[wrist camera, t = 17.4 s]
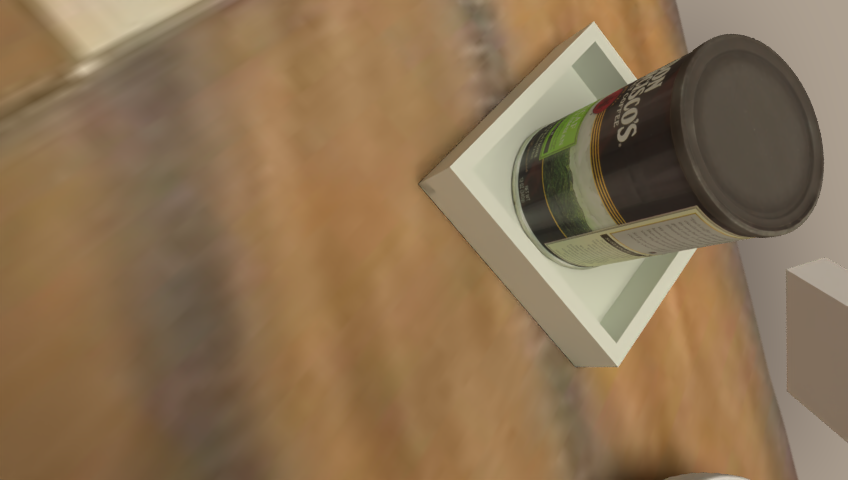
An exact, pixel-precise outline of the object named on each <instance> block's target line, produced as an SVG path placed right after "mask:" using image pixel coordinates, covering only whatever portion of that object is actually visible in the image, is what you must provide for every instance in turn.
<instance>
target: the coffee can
mask: <svg viewBox="0 0 848 480" xmlns="http://www.w3.org/2000/svg"><path fill="white" fill-rule="evenodd" d="M823 172H824V157H823V145H822V138H821V133H820V129H819V125H818V121H817V118H816V115H815V112H814V109H813V106H812V104H811V102H810V99H809V97H808V95H807V93H806V91H805V89H804V88H803V86H802V84H801V82H800V81H799V79H798V77H797V76H796V75H795V73H794V72H793V71H792V70H791V68H790V67H789V66H788V65H787V63H786V62H785V61H784V60H783V59H782V58H781V57H780V56H779V55H778V54H777V53H776V52H774V51H773V50H772V49H771V48H770V47H768V46H766V45H765V44H763V43H762V42H760V41H758V40H755V39H754V38H750V37H747V36H744V35H738V34H725V35H720V36H717V37H714V38H712V39H710V40H708V41H706V42H705V43H703V44H702V45H700V46H698V47H697V48H696V49H694V50H693V51H692V52H691V53H689V54H687V55H685V56H683V57H681V58H679V59H677V60H675V61H673V62H671V63H669V64H667V65H665V66H663V67H662V68H660V69H658V70H655V71H654V72H651V73H649V74H648V75H646V76H644V77H642V78H640V79H638V80H636V81H634V82H632V83H630V84H628V85H626V86H624V87H622V88H620V89H619V90H617V91H615V92H613V93H611V94H609V95H607V96H605V97H603V98H601V99H599V100H597V101H595V102H593V103H591V104H589V105H587V106H585V107H583V108H581V109H579V110H577V111H575V112H573V113H571V114H569V115H567V116H565V117H563V118H561V119H559V120H557V121H555V122H553V123H550V124H547V125H545V126H543V127H541V128H539V129H538V130H536V131H535V132H534V133H532V134H531V135H530V136H529V137H528V138H527V139H526V140H525V142H524V143H523V145H522V147H521V148H520V150H519V152H518V155H517V157H516V160H515V163H514V168H513V174H512V196H513V202H514V205H515V210H516V213H517V216H518V219H519V221H520V224H521V226H522V228H523V230H524V231H525V233H526V235H527V236H528V238H529V239H530V241H531V242H532V243H533V244H534V245H535V247H536V248H537V249H538V250H539V251H540V252H541V253H542V254H544V255H545V256H546V257H548V258H549V259H550V260H552V261H554V262H555V263H557V264H559V265H562V266H564V267H568V268H572V269H579V270H587V269H592V268H596V267H599V266H602V265H607V264H612V263H618V262H623V261H629V260H634V259H639V258H645V257H650V256H656V255H662V254H667V253H673V252H678V251H683V250H689V249H694V248H700V247H706V246H711V245H717V244H722V243H728V242H733V241H739V240H744V239H750V238H755V237H757V238H766V237H775V236H781V235H784V234H787V233H790V232H792V231H794V230H795V229H797V228H798V227H799V226H801V225H802V224H803V223H804V222H805V220H807V218H808V217H809V215H810V214H811V213H812V211H813V209H814V207H815V206H816V203H817V200H818V198H819V195H820V191H821V187H822V181H823Z"/></svg>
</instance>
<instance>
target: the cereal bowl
mask: <svg viewBox="0 0 848 480" xmlns="http://www.w3.org/2000/svg"><path fill="white" fill-rule="evenodd" d="M664 480H749V479H746V478H743V477H740V476H734V475H729V474H719V473H704V472H703V473H689V474H681V475H678V476H673V477H669V478H666V479H664Z"/></svg>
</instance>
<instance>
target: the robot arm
mask: <svg viewBox="0 0 848 480" xmlns="http://www.w3.org/2000/svg"><path fill="white" fill-rule="evenodd" d="M786 303H787V304H786V305H787V306H786V309H787V310H786V311H787V392H789V393H790V394H791V395H792V396H793V397H794V398H795V399H797V400H798V401H799V402H800V403H801V404H803V405H804V406H805V407H806V408H807V409H809V410H810V411H811V412H812V413H813V414H814V415H816V416H817V417H818V418H819V419H820V420H821V421H823V422H824V423H825V424H826V425H827V426H829V427H830V428H831V429H832V430H833V431H834V432H836V433H837V434H838V435H839V436H840V437H842V438H843V439H844V440H845V441H847V442H848V269H846V268H844V267H842V266H840V265H838V264H836V263H834V262H833V261H831V260H829V259H827V258H825V257H824V258H821V259H818V260H815V261H812V262H808V263H805V264H802V265H799V266H796V267H792V268H789V269H786Z"/></svg>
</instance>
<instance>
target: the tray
mask: <svg viewBox="0 0 848 480" xmlns="http://www.w3.org/2000/svg"><path fill="white" fill-rule="evenodd" d="M636 80H637V79H636V77H635V76H634V75H633V73H632V72H631V71H630V69H629V68H628V67H627V65H626V64H625V63H624V61H623V60H622V59H621V57H620V56H619V55H618V53H617V52H616V51H615V49H614V48H613V47H612V45H611V44H610V42H609V41H608V40H607V38H606V37H605V36H604V34H603V33H602V32H601V30H600V29H599V28H598V26H597V25H596V24H595V22H592V23H591V24H589V25H588V26H586V27H585V28H583V29H582V30H580V31H579V32H577V33H576V34H574V35H573V36H571V37H570V38H568V39H567V40H565V41H564V42H563V43H561V44H560V45H558V46H557V47H556V48H554V49H553V50H552V51H551V52H550V53H549V54H548V55H547V56H546V57H545V58H544V59H543V60H542V61H541V62H540V63H539V64H538V65H537V66H536V67H535V68H534V69H533V70H532V71H531V72H530V73H529V74H528V75H527V76H526V77H525V78H524V79H523V80H522V81H521V82H520V83H519V84H518V85H517V86H516V87H515V88H514V89H513V90H512V91H511V92H510V93H509V94H508V95H507V96H506V97H505V98H504V99H503V100H502V101H501V102H500V103H499V104H498V105H497V106H496V107H495V108H494V109H493V110H492V111H491V112H490V113H489V114H488V115H487V116H486V117H485V118H484V119H483V120H482V121H481V122H480V123H479V124H478V125H477V126H476V127H475V128H474V129H473V130H472V131H471V132H470V133H469V134H468V135H467V136H466V137H465V138H464V139H463V140H462V141H461V142H460V143H459V144H458V145H457V146H456V147H455V148H454V149H453V150H452V151H451V152H450V153H449V154H448V155H447V156H446V157H445V158H444V159H443V160H442V161H441V162H440V163H439V164H438V165H437V166H436V167H435V168H434V169H433V170H432V171H431V172H430V173H429V174H428V175H427V176H426V177H425V178H424V179H423V180H422V181H421V182H420V183H419V186H420V187H421V188H422V189H423V190H424V191H425V192H426V194H427V195H428V196H429V197H430V198H431V199H432V201H433V202H434V203H435V204H436V205H437V206H438V208H439V209H440V210H441V211H442V212H443V213H444V215H445V216H446V217H447V218H448V219H449V220H450V222H451V223H452V224H453V225H454V226H455V227H456V229H457V230H458V231H459V232H460V233H461V234H462V236H463V237H464V238H465V239H466V240H467V241H468V243H469V244H470V245H471V246H472V247H473V248H474V250H475V251H476V252H477V253H478V254H479V255H480V256H481V258H482V259H483V260H484V261H485V262H486V263H487V265H488V266H489V267H490V268H491V269H492V270H493V272H494V273H495V274H496V275H497V276H498V277H499V279H500V280H501V281H502V282H503V283H504V284H505V286H506V287H507V288H508V289H509V290H510V291H511V293H512V294H513V295H514V296H515V297H516V298H517V300H518V301H519V302H520V303H521V304H522V305H523V307H524V308H525V309H526V310H527V311H528V312H529V313H530V315H531V316H532V317H533V318H534V319H535V320H536V322H537V323H538V324H539V325H540V326H541V327H542V329H543V330H544V331H545V332H546V333H547V334H548V336H549V337H550V338H551V339H552V340H553V341H554V343H555V344H556V345H557V346H558V347H559V348H560V350H561V351H562V352H563V353H564V354H565V355H566V357H567V358H568V359H569V360H570V361H571V362H572V364H573V365H574V366H575V367H619V365H620V364H621V362H622V361H623V359H624V357H625V356H626V354H627V353H628V351H629V350H630V348H631V347H632V345H633V344H634V342H635V341H636V339H637V338H638V336H639V335H640V333H641V332H642V330H643V329H644V327H645V326H646V324H647V323H648V321H649V320H650V318H651V317H652V315H653V314H654V312H655V311H656V309H657V308H658V306H659V305H660V303H661V302H662V300H663V299H664V297H665V296H666V294H667V293H668V291H669V290H670V288H671V287H672V285H673V284H674V282H675V281H676V279H677V278H678V276H679V275H680V273H681V272H682V270H683V269H684V267H685V266H686V264H687V263H688V261H689V260H690V258H691V257H692V255H693V254H694V252H695V251H696V249H697V248H694V249H689V250H683V251H678V252H673V253H667V254H662V255H656V256H650V257H645V258H639V259H634V260H629V261H623V262H618V263H612V264H607V265H602V266H599V267H596V268H592V269H587V270H579V269H572V268H568V267H564V266H562V265H559V264H557V263H555V262H554V261H552V260H550V259H549V258H548V257H546V256H545V255H544V254H542V253H541V252H540V251H539V250H538V249H537V248H536V247H535V245H534V244H533V243H532V242H531V241H530V239H529V238H528V236H527V235H526V233H525V231H524V230H523V228H522V226H521V224H520V221H519V219H518V216H517V213H516V210H515V205H514V202H513V196H512V174H513V168H514V163H515V160H516V157H517V155H518V152H519V150H520V148H521V147H522V145H523V143H524V142H525V140H526V139H527V138H528V137H529V136H530V135H531V134H532V133H534V132H535V131H536V130H538V129H539V128H541V127H543V126H545V125H547V124H550V123H553V122H555V121H557V120H559V119H561V118H563V117H565V116H567V115H569V114H571V113H573V112H575V111H577V110H579V109H581V108H583V107H585V106H587V105H589V104H591V103H593V102H595V101H597V100H599V99H601V98H603V97H605V96H607V95H609V94H611V93H613V92H615V91H617V90H619V89H620V88H622V87H624V86H626V85H628V84H630V83H632V82H634V81H636Z"/></svg>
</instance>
